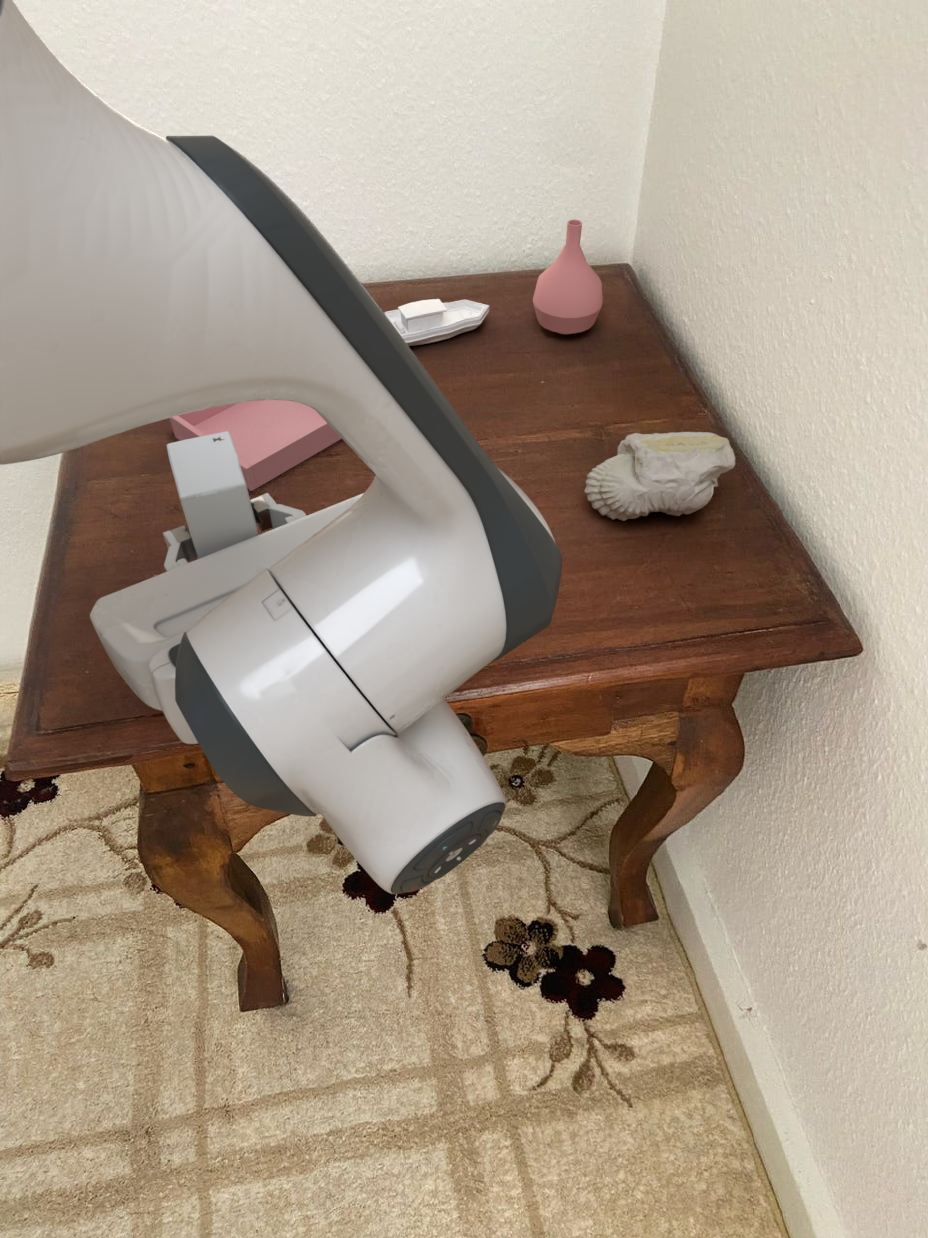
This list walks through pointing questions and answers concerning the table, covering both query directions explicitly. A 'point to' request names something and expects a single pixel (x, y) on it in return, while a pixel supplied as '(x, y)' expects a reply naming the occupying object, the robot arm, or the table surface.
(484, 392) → the table surface
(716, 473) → the fossil replica
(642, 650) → the table surface
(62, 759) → the table surface
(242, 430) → the tray
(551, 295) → the pink vase
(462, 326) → the white toy boat
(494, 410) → the table surface
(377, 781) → the robot arm
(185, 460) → the cosmetic box
